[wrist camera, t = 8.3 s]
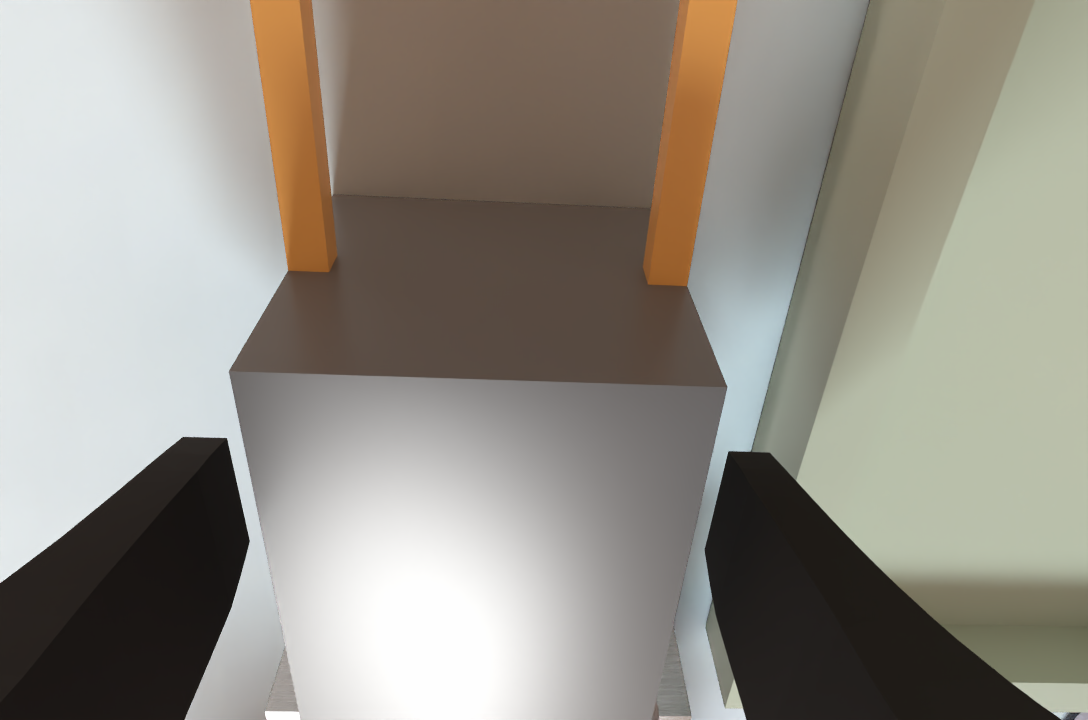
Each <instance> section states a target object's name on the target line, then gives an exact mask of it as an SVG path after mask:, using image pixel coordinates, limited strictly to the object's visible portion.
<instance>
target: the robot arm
mask: <svg viewBox="0 0 1088 720" xmlns="http://www.w3.org/2000/svg"><path fill="white" fill-rule="evenodd" d="M249 542H250V540H249V536H248V531H247V527H246V522H245V518H244V513H243V509H242V504H241V500H240V495H239V491H238V486H237V482H236V477H235V473H234V468H233V464H232V459H231V455H230V450H229V446H228V441H227V438H199V437H183V438H181V439H180V440H179V441H177V442H176V443H175V444H174V445H172V446H171V447H170V448H169V449H167V450H166V451H165V452H164V453H163V454H161V455H160V456H159V457H158V458H157V459H155V460H154V461H153V462H152V463H151V464H149V465H148V466H147V467H146V468H145V469H143V470H142V471H141V472H140V473H139V474H138V475H136V476H135V477H134V478H133V479H132V480H130V481H129V482H128V483H127V484H126V485H124V486H123V487H122V488H121V489H120V490H118V491H117V492H116V493H115V494H114V495H113V496H111V497H110V498H109V499H108V500H106V501H105V502H104V503H103V504H101V505H100V506H99V507H98V508H97V509H95V510H94V511H93V512H92V513H90V514H89V515H88V516H87V517H86V518H84V519H83V520H82V521H81V522H79V523H78V524H77V525H76V526H75V527H73V528H72V529H71V530H70V531H68V532H67V533H66V534H65V535H63V536H62V537H61V538H60V539H58V540H57V541H56V542H55V543H53V544H52V545H51V546H49V547H48V548H47V549H45V550H44V551H43V552H41V553H40V554H39V555H37V556H36V557H35V558H33V559H32V560H31V561H29V562H28V563H27V564H25V565H24V566H23V567H21V568H20V569H19V570H17V571H16V572H15V573H13V574H12V575H11V576H9V577H8V578H7V579H5V580H4V581H3V582H1V583H0V720H184V719H185V717H186V714H187V712H188V710H189V707H190V705H191V703H192V700H193V698H194V696H195V693H196V691H197V689H198V686H199V684H200V682H201V679H202V677H203V674H204V672H205V670H206V667H207V665H208V663H209V660H210V658H211V656H212V653H213V651H214V648H215V646H216V644H217V641H218V639H219V636H220V634H221V632H222V629H223V627H224V624H225V622H226V619H227V617H228V614H229V612H230V609H231V607H232V604H233V600H234V597H235V593H236V590H237V586H238V583H239V580H240V576H241V572H242V568H243V565H244V561H245V557H246V553H247V550H248V546H249ZM705 555H706V562H707V568H708V575H709V581H710V587H711V593H712V598H713V604H714V609H715V615H716V618H717V622H718V625H719V629H720V632H721V636H722V639H723V643H724V646H725V649H726V653H727V656H728V660H729V663H730V666H731V670H732V673H733V676H734V680H735V683H736V686H737V690H738V693H739V696H740V700H741V703H742V706H743V709H744V713H745V716H746V719H747V720H1061V719H1060V718H1058V717H1057V716H1055V715H1054V714H1053V713H1051V712H1050V711H1048V710H1047V709H1046V708H1044V707H1043V706H1041V705H1040V704H1039V703H1037V702H1036V701H1035V700H1033V699H1032V698H1031V697H1029V696H1028V695H1027V694H1025V693H1024V692H1023V691H1021V690H1020V689H1019V688H1017V687H1016V686H1015V685H1014V684H1012V683H1011V682H1010V681H1008V680H1007V679H1006V678H1004V677H1003V676H1002V675H1001V674H1000V673H998V672H997V671H996V670H995V669H993V668H992V667H991V666H990V665H988V664H987V663H986V662H985V661H984V660H982V659H981V658H980V657H979V656H977V655H976V654H975V653H974V652H972V651H971V650H970V649H969V648H967V647H966V646H965V645H964V644H963V643H961V642H960V641H959V640H958V639H956V638H955V637H954V636H953V635H952V634H951V633H950V632H948V631H947V630H946V629H945V628H944V627H943V626H941V625H940V624H939V623H938V622H937V621H936V620H935V619H933V618H932V617H931V616H930V615H929V614H928V613H927V612H926V611H925V610H924V609H922V608H921V607H920V606H919V605H918V604H917V603H916V602H915V601H914V600H913V599H912V598H911V597H909V596H908V595H907V594H906V593H905V592H904V591H903V590H902V589H901V588H900V587H899V586H897V585H896V584H895V583H894V582H893V581H892V580H891V579H890V578H889V577H888V576H887V575H886V574H885V573H884V572H883V571H882V570H881V569H880V568H879V567H878V566H877V565H876V564H875V563H874V562H873V561H872V560H871V559H870V558H869V557H868V556H867V555H866V554H865V553H864V552H863V551H862V550H861V549H860V548H859V547H858V546H857V545H856V544H855V543H854V542H853V541H852V540H851V539H850V538H849V537H848V536H847V535H846V534H845V533H844V532H843V531H842V530H841V529H840V528H839V526H838V525H837V524H836V523H835V522H834V521H833V520H832V519H831V518H830V517H829V516H828V515H827V514H826V513H825V512H824V511H823V509H822V508H821V507H820V506H819V505H818V504H817V503H816V502H815V501H814V500H813V499H812V498H811V497H810V495H809V494H808V493H807V492H806V491H805V490H804V489H803V488H802V487H801V486H800V485H799V483H798V482H797V481H796V480H795V479H794V478H793V477H792V476H791V475H790V474H789V473H788V471H787V470H786V469H785V468H784V467H783V466H782V465H781V464H780V463H779V462H778V461H777V460H776V459H775V458H774V456H773V455H772V454H771V453H770V452H733V451H729V452H728V456H727V460H726V464H725V468H724V472H723V477H722V481H721V485H720V489H719V493H718V497H717V501H716V505H715V509H714V514H713V518H712V522H711V526H710V530H709V534H708V538H707V542H706V547H705ZM1074 720H1088V713H1082V712H1081V713H1080V714H1079V715H1078V716H1077V717H1076V718H1075V719H1074Z"/></svg>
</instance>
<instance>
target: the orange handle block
mask: <svg viewBox="0 0 1088 720" xmlns="http://www.w3.org/2000/svg"><path fill="white" fill-rule="evenodd" d="M250 4H251V11H252V18H253V25H254V32H255V39H256V46H257V53H258V61H259V68H260V75H261V82H262V89H263V96H264V103H265V110H266V117H267V124H268V131H269V138H270V145H271V152H272V159H273V166H274V173H275V180H276V187H277V194H278V202H279V209H280V216H281V223H282V230H283V237H284V244H285V251H286V258H287V265H288V272H287V274H286V275H285V277H284V279H283V280H282V282H281V284H280V286H279V287H278V289H277V291H276V292H275V294H274V296H273V297H272V299H271V301H270V303H269V304H268V306H267V308H266V309H265V311H264V313H263V314H262V316H261V318H260V320H259V321H258V323H257V325H256V326H255V328H254V330H253V331H252V333H251V335H250V336H249V338H248V340H247V342H246V343H245V345H244V347H243V348H242V350H241V352H240V353H239V355H238V357H237V359H236V360H235V362H234V364H233V365H232V367H231V369H230V370H229V374H230V379H231V384H232V389H233V393H234V398H235V403H236V408H237V413H238V418H239V423H240V428H241V432H242V437H243V442H244V447H245V452H246V457H247V462H248V467H249V471H250V476H251V481H252V486H253V491H254V496H255V501H256V506H257V510H258V515H259V520H260V525H261V530H262V535H263V540H264V544H265V549H266V554H267V559H268V564H269V569H270V574H271V579H272V583H273V588H274V593H275V598H276V603H277V608H278V613H279V618H280V622H281V627H282V632H283V637H284V642H285V647H286V652H287V657H288V661H289V666H290V671H291V676H292V681H293V686H294V691H295V696H296V700H297V705H298V710H299V715H300V720H652V716H653V712H654V707H655V703H656V699H657V694H658V690H659V685H660V681H661V677H662V672H663V668H664V663H665V659H666V655H667V650H668V646H669V641H670V637H671V633H672V628H673V624H674V619H675V615H676V611H677V606H678V602H679V597H680V593H681V589H682V584H683V580H684V575H685V571H686V567H687V562H688V558H689V553H690V549H691V545H692V540H693V536H694V531H695V527H696V523H697V518H698V514H699V509H700V505H701V501H702V496H703V492H704V487H705V483H706V479H707V474H708V470H709V465H710V461H711V457H712V452H713V448H714V443H715V439H716V435H717V430H718V426H719V421H720V417H721V413H722V408H723V404H724V399H725V395H726V391H727V385H726V383H725V380H724V378H723V375H722V373H721V370H720V368H719V365H718V363H717V360H716V358H715V355H714V353H713V350H712V348H711V345H710V343H709V340H708V338H707V335H706V333H705V330H704V328H703V325H702V323H701V320H700V318H699V315H698V313H697V310H696V307H695V305H694V302H693V300H692V297H691V295H690V292H689V290H688V287H687V283H688V278H689V272H690V266H691V261H692V255H693V249H694V244H695V238H696V232H697V227H698V221H699V215H700V210H701V204H702V198H703V193H704V187H705V181H706V176H707V170H708V164H709V159H710V153H711V147H712V142H713V136H714V130H715V125H716V119H717V113H718V108H719V102H720V96H721V91H722V85H723V79H724V74H725V68H726V62H727V57H728V51H729V45H730V40H731V34H732V28H733V23H734V17H735V11H736V6H737V0H680V3H679V10H678V17H677V25H676V32H675V39H674V46H673V53H672V61H671V68H670V75H669V82H668V89H667V97H666V104H665V111H664V118H663V125H662V133H661V140H660V147H659V154H658V161H657V169H656V176H655V183H654V190H653V197H652V205H651V209H649V208H626V207H604V206H581V205H559V204H536V203H513V202H491V201H468V200H446V199H423V198H401V197H378V196H356V195H333V196H332V197H331V187H330V177H329V167H328V158H327V148H326V138H325V128H324V118H323V108H322V98H321V89H320V79H319V69H318V59H317V49H316V39H315V30H314V20H313V10H312V0H250Z"/></svg>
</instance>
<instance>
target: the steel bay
mask: <svg viewBox="0 0 1088 720" xmlns="http://www.w3.org/2000/svg"><path fill="white" fill-rule="evenodd" d="M265 714H266V718H267V720H300V715H299V710H298V705H297V700H296V696H295V691H294V686H293V681H292V676H291V671H290V666H289V661H288V657H287V652H286V647H285V648H284V651H283V654H282V658H281V661H280V664H279V667H278V671H277V674H276V677H275V680H274V684H273V687H272V690H271V693H270V697H269V700H268V703H267V706H266V709H265ZM652 720H691V712H690V706H689V701H688V696H687V691H686V686H685V681H684V676H683V671H682V666H681V661H680V656H679V651H678V646H677V641H676V636H675V631H674V626H673V628H672V633H671V637H670V641H669V646H668V650H667V655H666V659H665V663H664V668H663V672H662V677H661V681H660V685H659V690H658V694H657V699H656V703H655V707H654V712H653V716H652Z"/></svg>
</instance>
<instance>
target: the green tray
mask: <svg viewBox="0 0 1088 720" xmlns="http://www.w3.org/2000/svg"><path fill="white" fill-rule="evenodd" d="M752 452H770V453H771V454H772V455H773V456H774V458H775V459H776V460H777V461H778V462H779V463H780V464H781V465H782V466H783V467H784V468H785V469H786V470H787V471H788V473H789V474H790V475H791V476H792V477H793V478H794V479H795V480H796V481H797V482H798V483H799V485H800V486H801V487H802V488H803V489H804V490H805V491H806V492H807V493H808V494H809V495H810V497H811V498H812V499H813V500H814V501H815V502H816V503H817V504H818V505H819V506H820V507H821V508H822V509H823V511H824V512H825V513H826V514H827V515H828V516H829V517H830V518H831V519H832V520H833V521H834V522H835V523H836V524H837V525H838V526H839V528H840V529H841V530H842V531H843V532H844V533H845V534H846V535H847V536H848V537H849V538H850V539H851V540H852V541H853V542H854V543H855V544H856V545H857V546H858V547H859V548H860V549H861V550H862V551H863V552H864V553H865V554H866V555H867V556H868V557H869V558H870V559H871V560H872V561H873V562H874V563H875V564H876V565H877V566H878V567H879V568H880V569H881V570H882V571H883V572H884V573H885V574H886V575H887V576H888V577H889V578H890V579H891V580H892V581H893V582H894V583H895V584H896V585H897V586H899V587H900V588H901V589H902V590H903V591H904V592H905V593H906V594H907V595H908V596H909V597H911V598H912V599H913V600H914V601H915V602H916V603H917V604H918V605H919V606H920V607H921V608H922V609H924V610H925V611H926V612H927V613H928V614H929V615H930V616H931V617H932V618H933V619H935V620H936V621H937V622H938V623H939V624H940V625H941V626H943V627H944V628H945V629H946V630H947V631H948V632H950V633H951V634H952V635H953V636H954V637H955V638H956V639H958V640H959V641H960V642H961V643H963V644H964V645H965V646H966V647H967V648H969V649H970V650H971V651H972V652H974V653H975V654H976V655H977V656H979V657H980V658H981V659H982V660H984V661H985V662H986V663H987V664H988V665H990V666H991V667H992V668H993V669H995V670H996V671H997V672H998V673H1000V674H1001V675H1002V676H1003V677H1004V678H1006V679H1007V680H1008V681H1010V682H1011V683H1012V684H1014V685H1015V686H1016V687H1017V688H1019V689H1020V690H1021V691H1023V692H1024V693H1025V694H1027V695H1028V696H1029V697H1031V698H1032V699H1033V700H1035V701H1036V702H1037V703H1039V704H1040V705H1041V706H1043V707H1044V708H1046V709H1047V710H1048V711H1050V712H1082V713H1088V0H870V3H869V7H868V11H867V15H866V18H865V22H864V26H863V30H862V34H861V37H860V41H859V45H858V49H857V53H856V57H855V60H854V64H853V68H852V72H851V76H850V79H849V83H848V87H847V91H846V95H845V98H844V102H843V106H842V110H841V114H840V117H839V121H838V125H837V129H836V133H835V136H834V140H833V144H832V148H831V152H830V155H829V159H828V163H827V167H826V171H825V174H824V178H823V182H822V186H821V190H820V193H819V197H818V201H817V205H816V209H815V212H814V216H813V220H812V224H811V228H810V231H809V235H808V239H807V243H806V247H805V250H804V254H803V258H802V262H801V266H800V269H799V273H798V277H797V281H796V285H795V288H794V292H793V296H792V300H791V304H790V307H789V311H788V315H787V319H786V323H785V327H784V330H783V334H782V338H781V342H780V346H779V349H778V353H777V357H776V361H775V365H774V368H773V372H772V376H771V380H770V384H769V387H768V391H767V395H766V399H765V403H764V406H763V410H762V414H761V418H760V422H759V425H758V429H757V433H756V437H755V441H754V444H753V448H752ZM706 631H707V636H708V640H709V644H710V648H711V652H712V656H713V661H714V665H715V669H716V673H717V677H718V681H719V686H720V690H721V694H722V698H723V702H724V706H725V708H743V706H742V703H741V700H740V696H739V693H738V690H737V686H736V683H735V680H734V676H733V673H732V670H731V666H730V663H729V660H728V656H727V653H726V649H725V646H724V643H723V639H722V636H721V632H720V629H719V625H718V622H717V618H716V615H715V609H714V604H713V600H712V604H711V608H710V612H709V616H708V619H707V623H706Z"/></svg>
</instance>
